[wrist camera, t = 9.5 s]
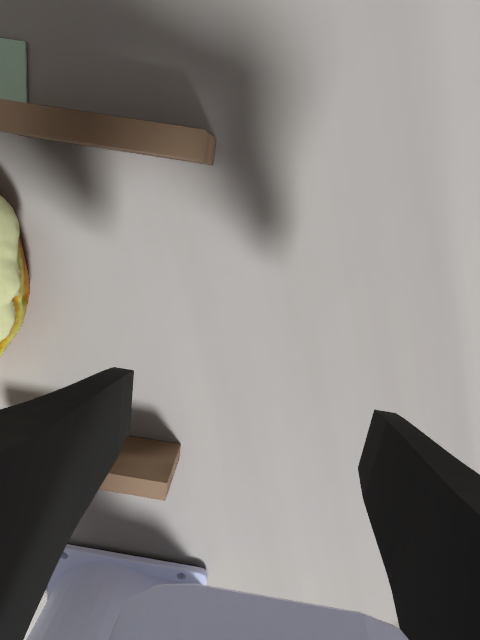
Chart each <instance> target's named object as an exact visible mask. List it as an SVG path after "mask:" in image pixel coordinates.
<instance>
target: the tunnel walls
mask: <svg viewBox="0 0 480 640" xmlns="http://www.w3.org/2000/svg"><path fill="white" fill-rule="evenodd" d="M0 131H3V132H7V133H12V134H17V135H22V136H26V137H32V138H39V139H45V140H52V141H58V142H65V143H71V144H78V145H84V146H91V147H98V148H104V149H111V150H117V151H124V152H130V153H137V154H144V155H150V156H157V157H163V158H170V159H176V160H183V161H189V162H196V163H203V164H209V165H213V162H214V153H215V145H216V139H215V138H214V137H213V136H212V135H211V134H209V133H208V132H207V131H206V130H204V129H198V128H191V127H184V126H178V125H171V124H164V123H158V122H151V121H145V120H138V119H131V118H125V117H118V116H111V115H105V114H98V113H91V112H85V111H78V110H71V109H65V108H58V107H52V106H45V105H38V104H32V103H25V102H18V101H12V100H5V99H0ZM180 446H181V444H176V443H170V442H164V441H158V440H152V439H146V438H140V437H134V436H128V435H127V437H126V440H125V442H124V445H123V447H122V449H121V451H120V454H119V456H118V458H117V460H116V461H115V463H114V465H113V466H112V468H111V470H110V471H109V473H108V475H107V476H106V478H105V480H104V481H103V483H102V485H101V486H100V488H99V489H100V490H106V491H112V492H118V493H124V494H129V495H135V496H141V497H147V498H153V499H159V500H166V497H167V494H168V491H169V488H170V485H171V482H172V479H173V476H174V473H175V470H176V467H177V464H178V461H179V455H180Z"/></svg>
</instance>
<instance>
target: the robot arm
mask: <svg viewBox="0 0 480 640" xmlns="http://www.w3.org/2000/svg"><path fill="white" fill-rule="evenodd" d="M133 376H134V370H128V369H122V368H116V367H113V368H110V369H107V370H104V371H102V372H99V373H97V374H95V375H92V376H90V377H88V378H86V379H83V380H81V381H79V382H76V383H74V384H72V385H69V386H67V387H65V388H62V389H59V390H57V391H54V392H52V393H49V394H46V395H44V396H41V397H38V398H36V399H33V400H30V401H27V402H24V403H21V404H18V405H15V406H11V407H8V408H4V409H1V410H0V640H23V639H24V637H25V634H26V632H27V630H28V628H29V625H30V623H31V621H32V618H33V616H34V614H35V611H36V609H37V607H38V605H39V603H40V600H41V598H42V596H43V594H44V592H45V590H46V587H47V585H48V601H47V603H46V605H45V606H44V608H43V610H42V612H41V614H40V616H39V618H38V619H37V621H36V623H35V625H34V627H33V629H32V631H31V632H30V634H29V636H28V638H27V640H480V475H479V474H478V473H476V472H475V471H474V470H472V469H471V468H469V467H468V466H466V465H465V464H463V463H462V462H461V461H459V460H458V459H457V458H455V457H454V456H452V455H451V454H450V453H448V452H447V451H446V450H444V449H443V448H442V447H441V446H439V445H438V444H437V443H435V442H434V441H433V440H431V439H430V438H429V437H428V436H426V435H425V434H424V433H422V432H421V431H420V430H419V429H417V428H416V427H415V426H413V425H412V424H411V423H409V422H408V421H407V420H405V419H404V418H402V417H401V416H399V415H398V414H396V413H391V412H385V411H379V410H374V413H373V416H372V420H371V424H370V427H369V431H368V434H367V438H366V441H365V445H364V448H363V452H362V455H361V459H360V462H359V466H358V471H359V477H360V484H361V489H362V495H363V500H364V503H365V506H366V510H367V513H368V516H369V519H370V522H371V526H372V529H373V532H374V535H375V538H376V541H377V544H378V547H379V550H380V553H381V556H382V560H383V563H384V566H385V569H386V572H387V575H388V579H389V583H390V586H391V590H392V594H393V599H394V603H395V608H396V613H397V617H398V622H399V627H400V629H399V628H397V627H395V626H393V625H391V624H389V623H386V622H383V621H381V620H378V619H376V618H373V617H371V616H368V615H366V614H363V613H360V612H356V611H350V610H344V609H338V608H333V607H327V606H321V605H315V604H310V603H304V602H298V601H292V600H286V599H281V598H275V597H269V596H263V595H258V594H252V593H246V592H240V591H235V590H229V589H223V588H217V587H211V586H206V581H207V572H206V570H205V569H203V568H201V567H195V566H189V565H184V564H178V563H172V562H167V561H161V560H155V559H149V558H144V557H138V556H132V555H126V554H121V553H115V552H109V551H103V550H98V549H92V548H86V547H80V546H75V545H69V544H67V543H68V541H69V539H70V537H71V535H72V533H73V531H74V529H75V528H76V526H77V524H78V522H79V520H80V519H81V517H82V516H83V514H84V512H85V511H86V509H87V507H88V506H89V504H90V502H91V501H92V499H93V498H94V496H95V494H96V493H97V491H98V489H99V488H100V486H101V485H102V483H103V481H104V480H105V478H106V476H107V475H108V473H109V471H110V470H111V468H112V466H113V465H114V463H115V461H116V460H117V458H118V456H119V454H120V451H121V449H122V447H123V445H124V442H125V440H126V437H127V435H128V433H129V430H130V419H131V405H132V390H133ZM182 573H183V574H182Z"/></svg>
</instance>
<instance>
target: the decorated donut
mask: <svg viewBox="0 0 480 640" xmlns="http://www.w3.org/2000/svg"><path fill="white" fill-rule="evenodd" d="M19 234H20V230H19V222H18V219H17V216H16V214H15V212H14V210H13V208H12V207H11V206H10V204H9V203H8V202H7V201H6V200H5V199H4V198H3V197H2V196H1V195H0V356H1V355H2V353H3V352H4V350H5V349H6V348H7V346H8V345H9V343H10V342H11V340H12V339H13V338H14V336H15V335H16V334H17V332H18V330H19V329H20V327H21V325H22V323H23V319H24V316H25V313H26V307H27V304H28V298H29V294H30V286H29V284H30V281H29V280H30V279H29V274H28V269H27V265H26V260H25V257H24V252H23V248H22V243H21V240H20V236H19Z"/></svg>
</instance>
